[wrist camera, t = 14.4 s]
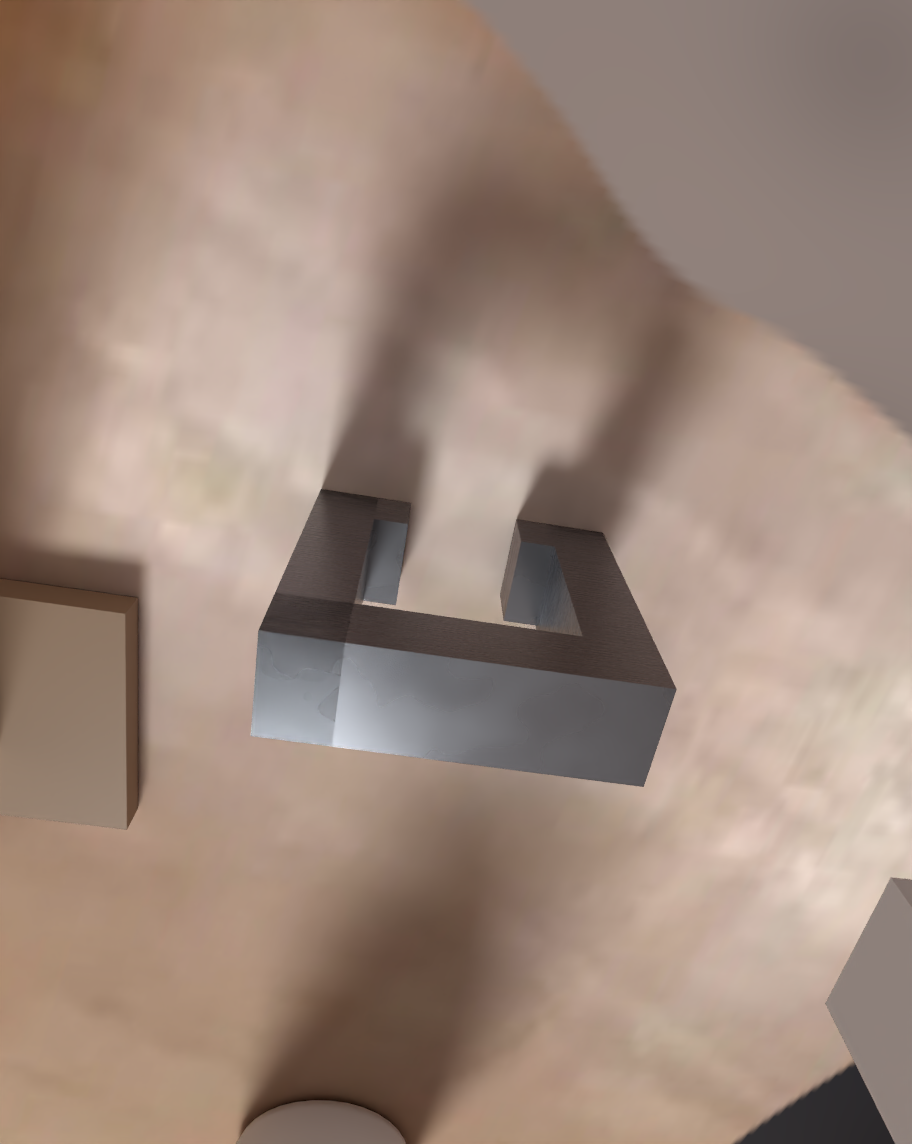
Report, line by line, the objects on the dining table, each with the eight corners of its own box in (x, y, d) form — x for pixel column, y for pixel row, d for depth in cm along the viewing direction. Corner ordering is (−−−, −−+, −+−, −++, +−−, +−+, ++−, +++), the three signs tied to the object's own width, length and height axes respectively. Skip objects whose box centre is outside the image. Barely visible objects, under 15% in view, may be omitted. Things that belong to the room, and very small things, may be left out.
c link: (313, 567, 23) (251, 735, 16) (321, 489, 22) (258, 631, 15) (582, 607, 23) (643, 786, 16) (602, 532, 22) (676, 688, 15)
